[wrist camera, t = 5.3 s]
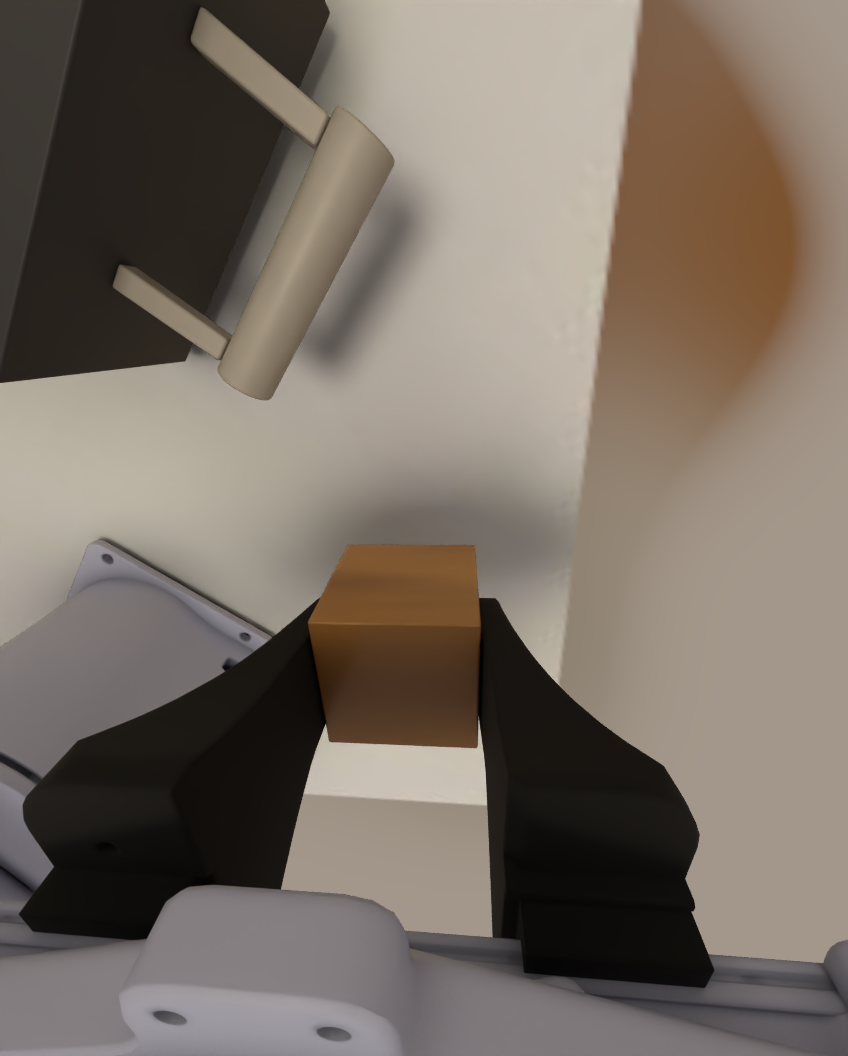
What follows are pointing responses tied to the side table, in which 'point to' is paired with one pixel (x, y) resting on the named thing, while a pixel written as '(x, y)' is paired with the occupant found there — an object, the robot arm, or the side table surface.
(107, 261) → the black drawer
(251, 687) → the robot arm
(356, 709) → the block
